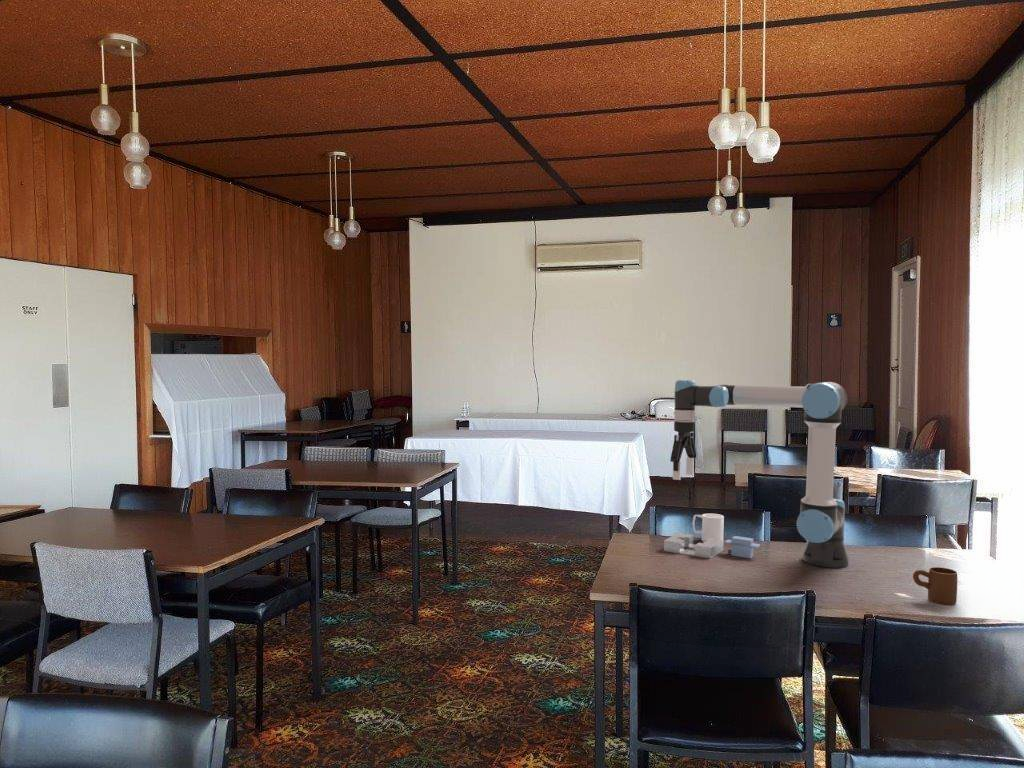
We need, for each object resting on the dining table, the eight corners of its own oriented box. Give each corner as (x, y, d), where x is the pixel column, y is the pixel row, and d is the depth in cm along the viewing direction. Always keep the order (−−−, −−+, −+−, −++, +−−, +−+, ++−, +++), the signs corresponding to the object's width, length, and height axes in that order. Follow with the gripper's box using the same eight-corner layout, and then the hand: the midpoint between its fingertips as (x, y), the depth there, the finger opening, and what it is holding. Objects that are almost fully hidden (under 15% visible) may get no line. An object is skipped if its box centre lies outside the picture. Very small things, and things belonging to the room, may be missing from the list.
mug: (915, 602, 225) (916, 571, 225) (908, 594, 232) (909, 564, 232) (960, 606, 222) (961, 575, 222) (952, 598, 229) (953, 568, 229)
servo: (760, 557, 274) (760, 539, 274) (757, 559, 271) (757, 541, 270) (727, 552, 280) (728, 534, 280) (724, 554, 277) (724, 536, 277)
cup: (691, 537, 303) (692, 512, 302) (722, 539, 300) (723, 514, 299) (692, 542, 295) (692, 516, 294) (723, 544, 292) (724, 518, 291)
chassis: (723, 550, 283) (723, 539, 282) (710, 558, 271) (711, 547, 271) (677, 543, 293) (678, 532, 292) (663, 550, 281) (664, 540, 281)
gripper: (686, 418, 294) (685, 471, 295) (662, 422, 274) (661, 480, 275) (705, 419, 290) (704, 473, 291) (681, 424, 270) (680, 482, 270)
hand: (683, 477), depth 283 cm, fingers open, 13 cm apart
